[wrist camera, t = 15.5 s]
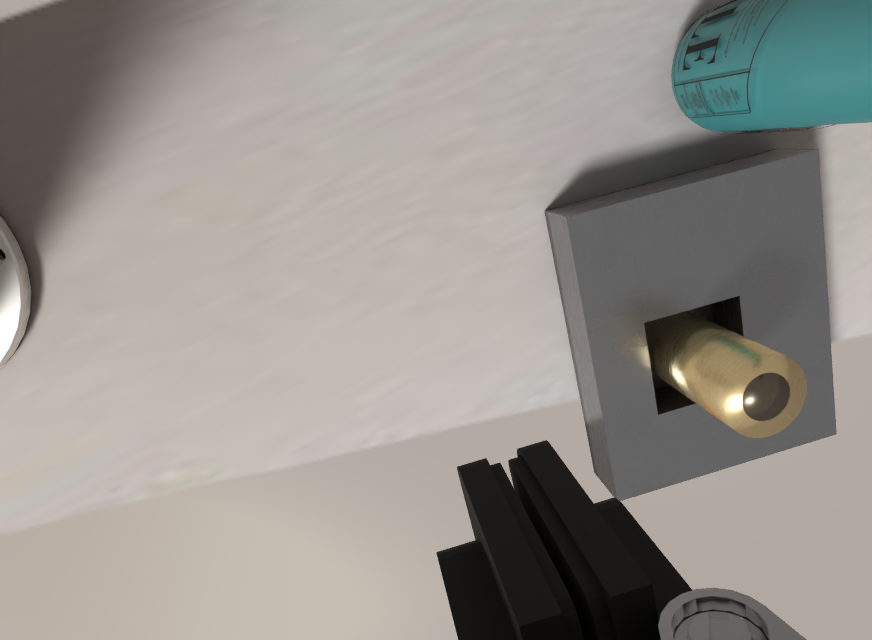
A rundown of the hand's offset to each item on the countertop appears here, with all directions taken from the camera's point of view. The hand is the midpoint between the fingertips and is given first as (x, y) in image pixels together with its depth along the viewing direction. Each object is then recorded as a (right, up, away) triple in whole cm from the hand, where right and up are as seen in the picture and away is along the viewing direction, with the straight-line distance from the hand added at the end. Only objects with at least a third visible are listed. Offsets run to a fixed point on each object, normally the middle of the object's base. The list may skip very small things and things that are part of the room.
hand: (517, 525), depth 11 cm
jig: (+13, +4, +27) cm, 31 cm away
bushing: (+13, +2, +27) cm, 30 cm away
